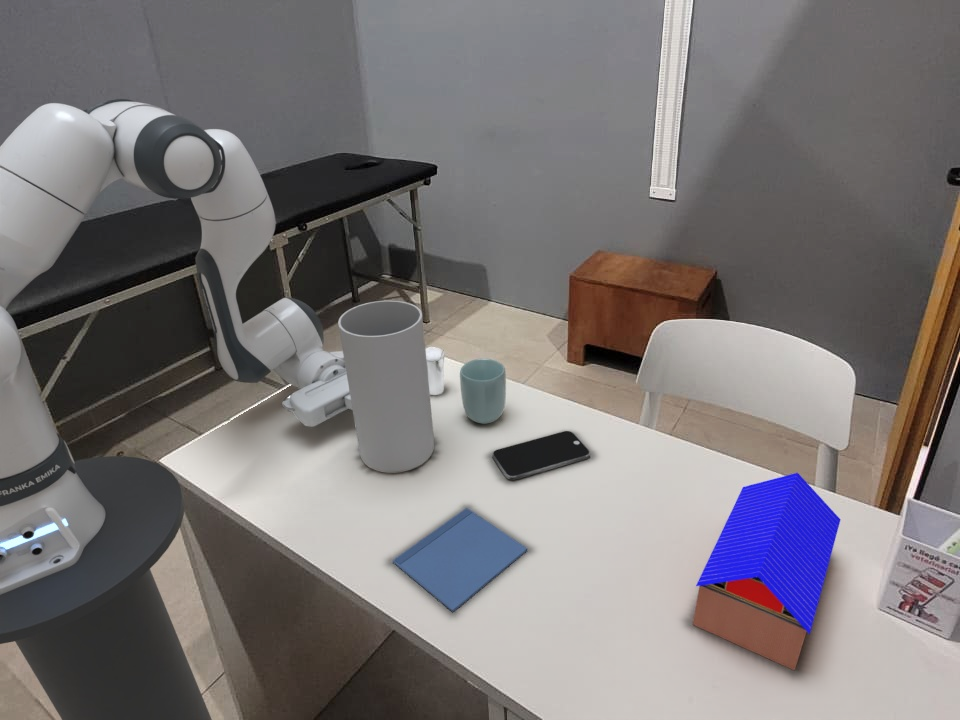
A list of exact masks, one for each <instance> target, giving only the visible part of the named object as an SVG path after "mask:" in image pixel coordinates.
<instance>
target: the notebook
mask: <svg viewBox="0 0 960 720" xmlns="http://www.w3.org/2000/svg"><path fill="white" fill-rule="evenodd" d="M527 551H528V547H526V546H525V545H523V544H522V543H520V542H519V541H517V540H516V539H514V538H513V537H511V536H510V535H508V534H507V533H505V532H504V531H502V530H501V529H499V528H498V527H497V526H495V525H493V524H492V523H490V522H489V521H487V520H486V519H484V518H483V517H481V516H480V515H479V514H477V513H475V512H474V511H473V510H471V509H469V508H468V507H466V508H464V509H463V510H461V511H460V512H458V513H457V514H456V515H454V516H453V517H451V518H450V519H449V520H447V521H446V522H444V523H443V524H441V525H439V527H437V528H436V529H435V530H433V531H431V532H430V533H428V534H427V535H426V536H425V537H423V538H422V539H420V540H419V541H418V542H416V543H414V545H412V546H410V547H409V548H408V549H407V550H405V551H403V552H402V553H401V554H399V555H398V556H396V557H395V558H394V559H392V563H393V564H394V565H395V566H397V567H398V568H399V569H400V570H401V571H403V572H404V573H405V574H406V575H407V576H409V578H410V579H412V580H413V581H414V582H416V583H417V585H419V586H420V587H422V588H423V589H424V590H425V591H427V592H428V593H429V594H430V595H431V596H432V597H434V598H435V599H436V600H437V601H438V602H439V603H440V604H442V605H443V606H445V607H446V608H447V609H448V610H449V611H450V612H452V613H454V612H455V611H456V610H458V609H459V608H460V607H461V606H463V605H464V604H465V603H466V602H467V601H469V600H470V599H471V598H472V597H474V595H476V594H477V593H478V592H480V591H481V590H482V589H483V588H484V587H485V586H486V585H488V584H489V583H490V582H491V581H493V580H494V579H495V578H496V577H497V576H499V575H500V574H501V573H502V572H503V571H505V570H506V569H507V568H508V567H509V566H511V565H512V564H513V563H514V562H515V561H516V560H518V559H519V558H521V556H522V555H524V554H525V553H526V552H527Z"/></svg>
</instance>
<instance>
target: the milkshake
mask: <svg viewBox="0 0 960 720" xmlns="http://www.w3.org/2000/svg"><path fill="white" fill-rule="evenodd" d="M425 350H426V361H427V371H428V382H429V392H430V396H440V395H442V394H443V392H444V391H445V351H444V349H441V348H439V347H437V346H427V347H425Z"/></svg>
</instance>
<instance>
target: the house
mask: <svg viewBox="0 0 960 720" xmlns="http://www.w3.org/2000/svg"><path fill="white" fill-rule="evenodd" d="M840 523H841V518H840V517H839V516H838V515H837V514H836V513H835V512H834V510H833V509H832V508H830V506H829V505H828V504H827V503H826V502H825V500H823V498H822V497H821V496H820V495H819V494H818V493H817V492H816V491H815V490H814V489H813V487H812V486H810V484H809V483H807V481H806V480H805V479H804V478H803V477H802V476H801V474H800V473H798V472H795V473H791V474H788V475H787V474H786V475H783V476H780V477H776V478H771V479H768V480H764V481H761V482H756V483H753V484H749V485H745V486H743V487H742V488H741V490H740V493H739V494H738V496H737V499H736V501H735V503H734V505H733V507H732V509H731V511H730V514H729V515H728V518H727V520H726V522H725V524H724V526H723V528H722V530H721V532H720V534H719V537H718V539H717V541H716V543H715V545H714V547H713V549H712V551H711V553H710V555H709V557H708V559H707V561H706V563H705V566H704V568H703V570H702V572H701V574H700V576H699V578H698V580H697V583H696V585H695V587H698V593H697V598H696V604H695V610H694V616H693V621H692V625H693V626H695V627H698V628H699V629H702V630H704V631H706V632H708V633H711V634H712V635H715V636H717V637H720V638H721V639H723V640H726V641H728V642H730V643H733V644H735V645H737V646H739V647H742V648H744V649H746V650H748V651H750V652H752V653H755V654H757V655H759V656H762V657H764V658H765V659H768V660H771V661H773V662H774V663H777V664H779V665H782V666H784V667H786V668H787V669H790V670H793V671H795V670H796V668H797V664H798V660H799V657H800V654H801V651H802V648H803V645H804V641H805V638H806V636H807V635H806V634H807V633H808V634H809V635H810V634H811V632H812V628H813V623H814V620H815V616H816V612H817V609H818V605H819V602H820V598H821V593H822V590H823V586H824V583H825V578H826V575H827V572H828V571H827V570H828V567H829V565H830V560H831V557H832V553H833V549H834V545H835V542H836V538H837V534H838V530H839V527H840ZM755 578H758V579H759V580H757V579H755ZM716 584H720V585H722V586H724V588H723V587H721V586H718V585H716ZM784 611H785V612H787V613H790V614H791V615H788V614H785V613H784Z"/></svg>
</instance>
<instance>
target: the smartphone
mask: <svg viewBox="0 0 960 720" xmlns="http://www.w3.org/2000/svg"><path fill="white" fill-rule="evenodd" d="M491 456H492V457H491V458H492V459H493V461H494V462H495V464H496V465H497V467H498V468H499V470H500V472H502V474H503V475H504V477H505V478H506V479H508V480H510V481H514V480H515V481H516V480H519V479H522V478H523V479H524V478H525V477H529V476H533V475H536V474H540V473H543V472H546V471H549V470H554V469H557V468H560V467H564V466H566V465H570V464H575V463H577V462H581V461H583V460H587V459H589V458H591V457H590V456H591V451H590V450H589V449H588V448H587V447H586V445H585V444H584V443H583V442H582V441H581V440H580V438H579V437H577V436H576V434H575V433H574V432H572V431H570V430H564V431H561V432H556V433H553V434H551V435H546V436H542V437H539V438H535V439H531V440H527V441H524V442H520V443H516V444H513V445H509V446H506V447H502V448H498V449H496V450H494V451H493V452H492V455H491Z"/></svg>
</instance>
